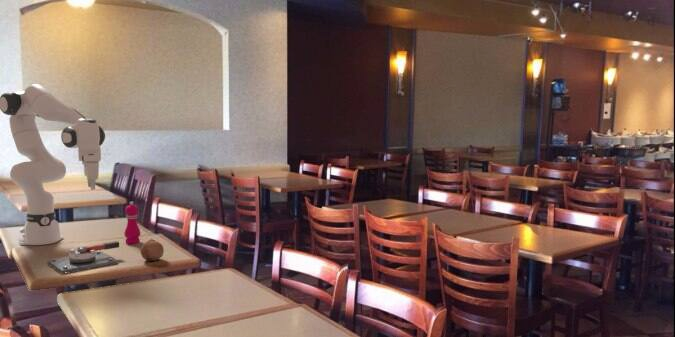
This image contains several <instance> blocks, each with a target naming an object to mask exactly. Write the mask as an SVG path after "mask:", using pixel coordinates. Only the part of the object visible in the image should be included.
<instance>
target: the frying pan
mask: <svg viewBox="0 0 675 337" xmlns="http://www.w3.org/2000/svg"><path fill="white" fill-rule="evenodd" d="M117 248H120V242H119V241H109V242H103V243H101V244H93V245H87V246H78V247H77V250H76V249H69V253H68V257H69V261H70V262H72V263H84V262H90V261H93V260H95V259H96V256H95V252H96V251H104V250H111V249H117Z"/></svg>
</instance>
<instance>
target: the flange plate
mask: <svg viewBox="0 0 675 337" xmlns="http://www.w3.org/2000/svg"><path fill="white" fill-rule="evenodd" d="M95 256H96V259H95V260H93V261H90V262H84V263H72V262H70V261H69V256H64V257H59V258H58V257H57V258H54V257H53V258H51V259H48V260H47V264H48V265H49V266H50V265H51V266H52V267H51V266H50V267H51V268H53V267H54V268H55V269H54V268H53V269H54V270H56V271H57V270H58V271H59V272H58V271H57V272H58V273H60V272H61V273H65V272H70V273H73V272H72V271H75V272H78V271H77V270H81V271H83V270H82V269H86V270H89V269H88V268H91V269H95V268H94V267H97V268H100V267H101V266H102V267H106V265H107V266H111V264H113V265H117V264H116V263H118V262H119V261H118V259H117V258H115V257H113V256H111V255H109V254H107V253H105V252H104V251H103V250H98V251H95ZM61 273H60V274H61ZM65 274H66V273H65Z"/></svg>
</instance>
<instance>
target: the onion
mask: <svg viewBox="0 0 675 337" xmlns="http://www.w3.org/2000/svg"><path fill="white" fill-rule="evenodd" d="M164 252H165V249H164V246H163V245H162V243H160V242H159V241H157V240H154V239H153V238H151V239H149V240H147V241H146V242H144V243H143V244H142V246H141V247H140V254H141V258H143V259H144V260H146V261H147V262H149V261H153V262H156V260H158V259H159V260H160V259H161V258H162V257H163V255H164ZM159 260H158V261H159Z"/></svg>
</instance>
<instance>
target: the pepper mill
mask: <svg viewBox="0 0 675 337" xmlns="http://www.w3.org/2000/svg"><path fill="white" fill-rule="evenodd" d="M124 212H125V214H126V217H125V218H126V219H127V223H126V228H125V229H124V234H123V235H124V237H125V238H126V239H125V244H126V245H135V244H138V243H140V241H141V240H140V238H139V237H140V236H141V229H140V228H139V225H138V223H137V222H138V221H137V220H138V213H139V207H138V206H137V205H135V204H134V201H129V205H127V206H125V209H124Z"/></svg>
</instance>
